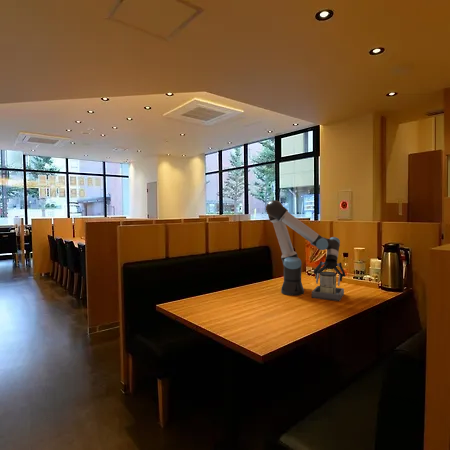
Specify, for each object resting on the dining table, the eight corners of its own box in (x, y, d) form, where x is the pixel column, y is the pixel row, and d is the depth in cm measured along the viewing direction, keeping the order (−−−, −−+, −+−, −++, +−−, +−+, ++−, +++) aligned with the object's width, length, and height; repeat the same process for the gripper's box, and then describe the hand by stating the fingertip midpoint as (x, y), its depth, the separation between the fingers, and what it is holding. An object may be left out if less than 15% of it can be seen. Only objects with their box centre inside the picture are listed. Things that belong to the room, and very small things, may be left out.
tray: (311, 297, 202) (311, 291, 202) (317, 291, 217) (317, 285, 217) (339, 301, 194) (339, 294, 194) (343, 294, 209) (343, 288, 209)
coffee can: (318, 292, 211) (318, 271, 211) (334, 292, 210) (334, 271, 210) (321, 296, 201) (321, 274, 201) (338, 296, 200) (338, 274, 199)
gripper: (351, 261, 212) (348, 289, 200) (314, 259, 224) (308, 284, 212) (350, 254, 207) (347, 282, 195) (312, 252, 219) (306, 278, 207)
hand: (327, 283), depth 203 cm, fingers open, 13 cm apart
